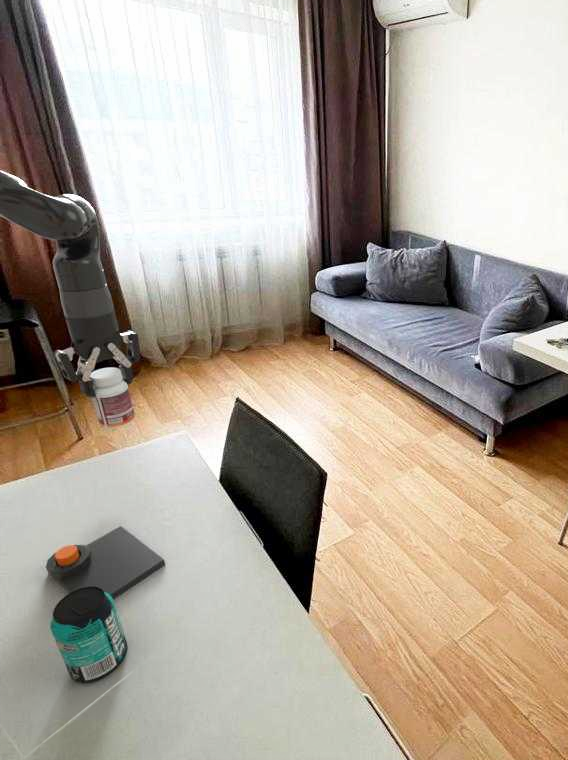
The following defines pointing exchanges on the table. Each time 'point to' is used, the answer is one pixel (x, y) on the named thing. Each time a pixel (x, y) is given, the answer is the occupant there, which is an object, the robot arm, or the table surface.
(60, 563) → the button
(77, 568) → the scale
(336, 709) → the table surface
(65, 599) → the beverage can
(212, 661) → the table surface
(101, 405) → the pill bottle
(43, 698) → the table surface
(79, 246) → the robot arm
